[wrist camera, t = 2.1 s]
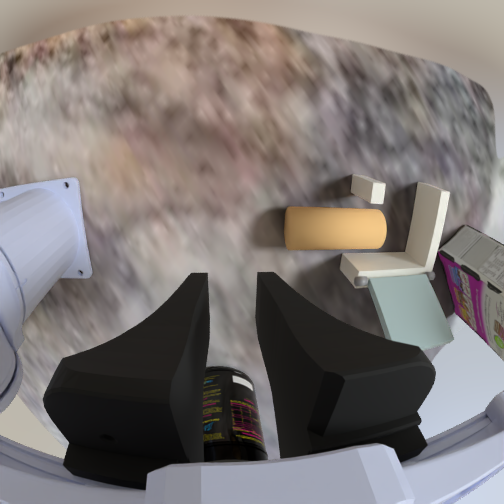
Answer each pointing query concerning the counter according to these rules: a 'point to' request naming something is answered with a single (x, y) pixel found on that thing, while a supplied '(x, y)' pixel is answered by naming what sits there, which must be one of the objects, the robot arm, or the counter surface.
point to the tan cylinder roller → (333, 228)
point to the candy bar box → (477, 283)
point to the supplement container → (231, 418)
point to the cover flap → (410, 311)
